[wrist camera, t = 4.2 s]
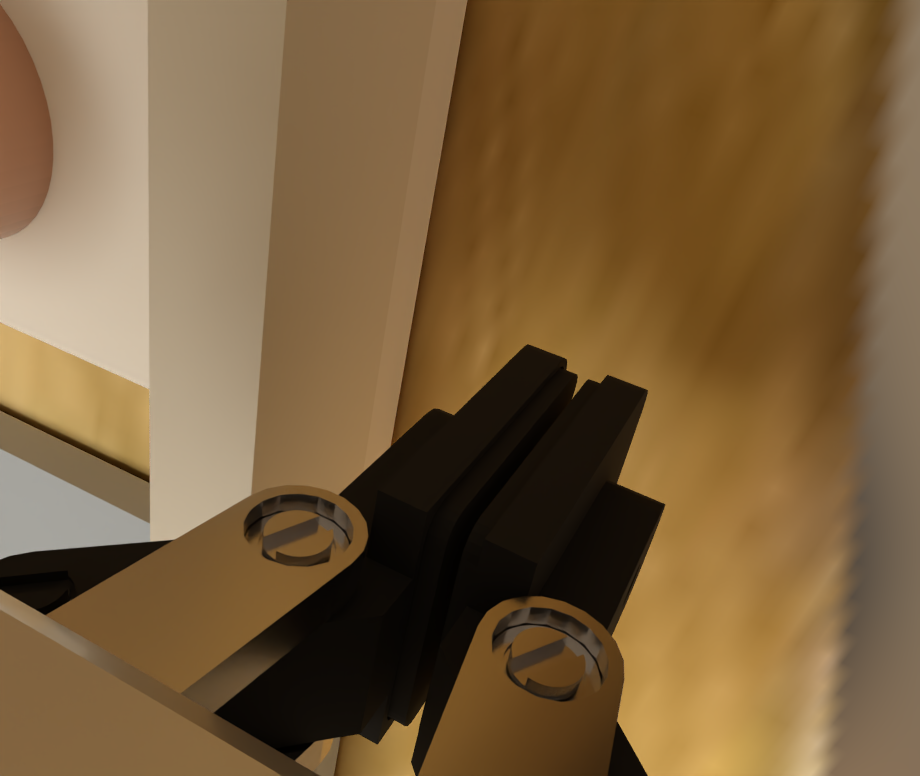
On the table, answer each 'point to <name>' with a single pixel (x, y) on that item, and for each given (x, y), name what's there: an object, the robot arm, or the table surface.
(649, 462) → the table surface
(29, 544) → the grey blocky piece
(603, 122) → the table surface
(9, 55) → the canister
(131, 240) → the strip
